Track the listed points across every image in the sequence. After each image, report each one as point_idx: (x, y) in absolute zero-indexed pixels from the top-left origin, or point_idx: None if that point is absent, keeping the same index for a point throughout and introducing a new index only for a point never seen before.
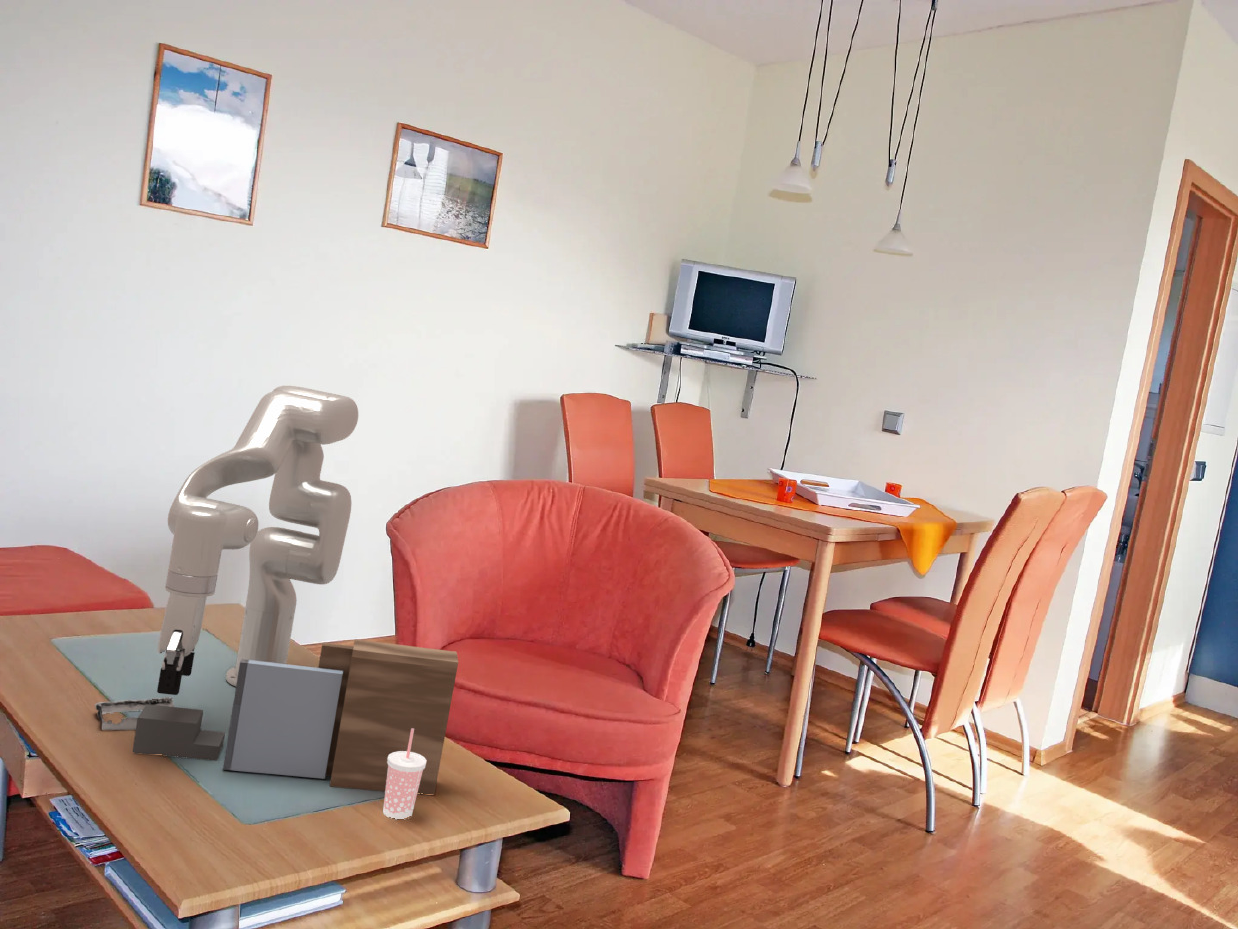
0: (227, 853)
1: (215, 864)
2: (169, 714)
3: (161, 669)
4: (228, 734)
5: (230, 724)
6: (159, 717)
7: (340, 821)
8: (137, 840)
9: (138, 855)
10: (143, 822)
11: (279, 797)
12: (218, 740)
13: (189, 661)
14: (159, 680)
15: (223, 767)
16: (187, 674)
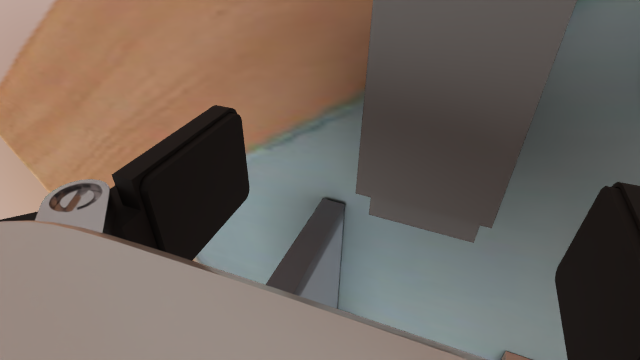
0: (82, 171)
1: (55, 155)
2: (430, 110)
3: (116, 176)
4: (284, 256)
5: (271, 278)
6: (390, 73)
7: None
8: (45, 48)
9: (17, 55)
10: (92, 51)
11: (247, 261)
12: (409, 218)
13: (573, 350)
14: (172, 136)
15: (320, 202)
16: (561, 271)
